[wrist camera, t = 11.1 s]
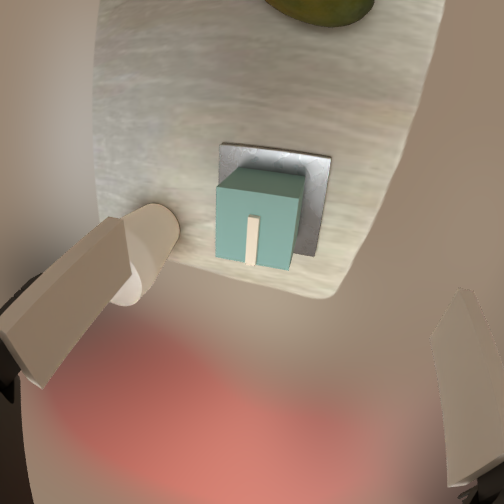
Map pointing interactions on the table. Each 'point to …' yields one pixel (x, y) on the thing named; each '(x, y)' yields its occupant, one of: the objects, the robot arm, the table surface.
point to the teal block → (258, 217)
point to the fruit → (324, 10)
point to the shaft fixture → (288, 163)
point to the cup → (146, 249)
